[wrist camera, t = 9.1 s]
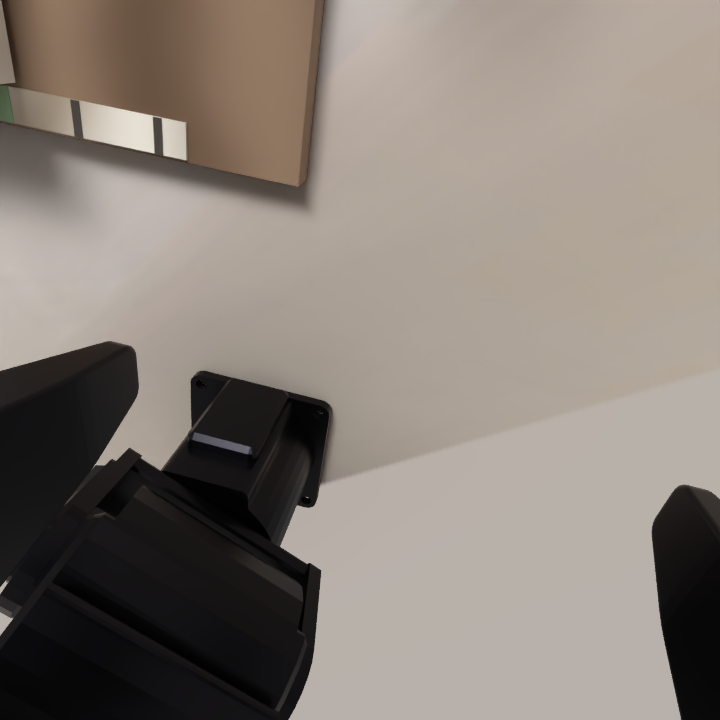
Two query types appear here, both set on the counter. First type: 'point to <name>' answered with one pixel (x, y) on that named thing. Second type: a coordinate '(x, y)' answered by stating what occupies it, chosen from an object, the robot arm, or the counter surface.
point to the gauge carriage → (5, 53)
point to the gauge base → (171, 78)
